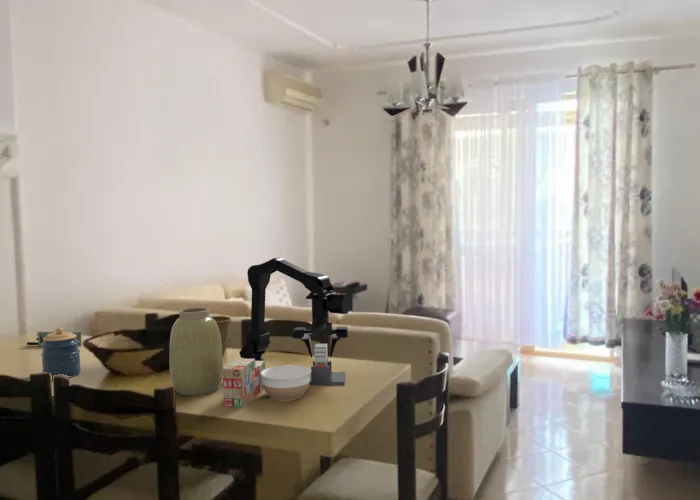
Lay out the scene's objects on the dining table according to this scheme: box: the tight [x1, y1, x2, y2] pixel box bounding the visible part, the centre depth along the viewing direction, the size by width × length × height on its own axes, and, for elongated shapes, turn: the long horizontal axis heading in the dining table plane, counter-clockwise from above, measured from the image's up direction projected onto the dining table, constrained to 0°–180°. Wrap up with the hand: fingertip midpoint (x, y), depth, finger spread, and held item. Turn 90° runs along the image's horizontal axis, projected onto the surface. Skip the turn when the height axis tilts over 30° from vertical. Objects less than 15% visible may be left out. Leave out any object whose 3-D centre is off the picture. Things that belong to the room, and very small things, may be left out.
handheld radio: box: [26, 331, 83, 348], centre depth 289 cm, size 7×3×25 cm
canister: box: [41, 327, 82, 377], centre depth 239 cm, size 13×13×18 cm
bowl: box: [261, 364, 311, 402], centre depth 208 cm, size 16×16×8 cm
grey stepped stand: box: [309, 360, 347, 386], centre depth 224 cm, size 16×12×7 cm
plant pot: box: [210, 315, 232, 357], centre depth 259 cm, size 15×15×16 cm
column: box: [314, 343, 329, 366], centre depth 222 cm, size 4×5×8 cm
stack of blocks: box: [222, 357, 266, 409], centre depth 207 cm, size 21×6×12 cm, turn 168°
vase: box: [168, 307, 224, 396], centre depth 215 cm, size 17×17×27 cm
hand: (321, 357), depth 222 cm, fingers open, 6 cm apart
